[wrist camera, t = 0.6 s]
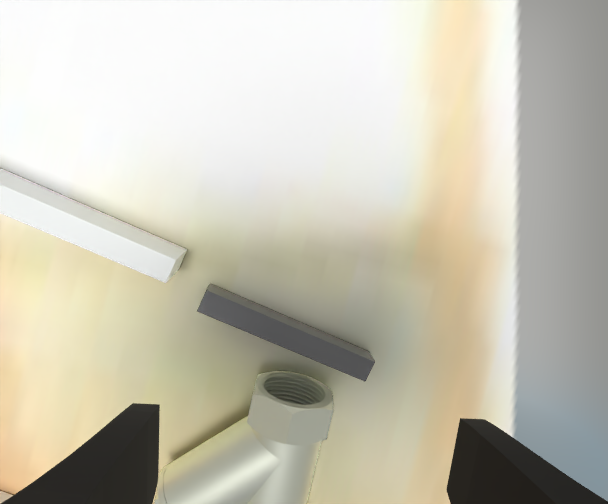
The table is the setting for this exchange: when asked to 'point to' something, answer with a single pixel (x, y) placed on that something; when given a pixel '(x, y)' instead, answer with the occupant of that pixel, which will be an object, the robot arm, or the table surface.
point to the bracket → (87, 230)
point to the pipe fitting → (257, 449)
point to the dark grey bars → (286, 332)
